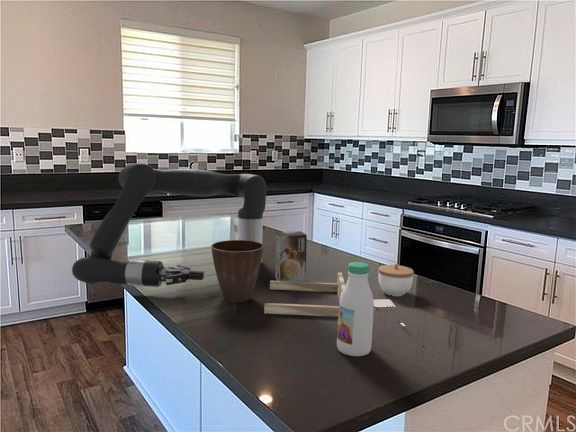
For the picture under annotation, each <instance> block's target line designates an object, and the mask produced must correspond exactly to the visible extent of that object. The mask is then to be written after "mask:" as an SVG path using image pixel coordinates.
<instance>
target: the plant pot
mask: <svg viewBox="0 0 576 432" xmlns="http://www.w3.org/2000/svg"><path fill="white" fill-rule="evenodd" d="M210 248H211V253H212V254H211V255H212V260H213V265H214V271H215V274H216V279H217V281H218V282H217V283H218V284H219V288H220V290H221V294H222V296H223V298H224V300H225V301H227V302H228V303H237V304H238V303H245V302H248V301H249V300H251V298H252V297H251V296H252V295H253V291H254V289H255V286H256V283H257V280H258V276H259V273H260V268H261V264H262V262H261V259H262V258H263V254H264V253H263V252H264V244H263V243H262V244H261V243H259V242H255V241H248V240H238V239H231V240H229V239H228V240H221V241H217V242H213V243H212V244H211V247H210Z"/></svg>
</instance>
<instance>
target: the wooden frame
mask: <svg viewBox="0 0 576 432" xmlns="http://www.w3.org/2000/svg"><path fill="white" fill-rule="evenodd" d="M336 280H337V281H336V282H316V281H315V282H314V281H313V282H312V281H306V282H295V281H277V280H271V279H270V280H269V290H278V291H281V290H282V291H301V292H302V291H303V292H305V291H306V292H321V293H323V292H325V293H337V298H339V299H338V303H339V302H340V296H341V293H342V291H343V289H344V287H345V285H346V283H345V280H344V276H343V273H342V272H337V279H336ZM263 307H264V308H263V309H264V311H263V312H264V313H263V314H267V313H268V314H269V315H270V314H272V315H293V316H294V315H295V316H311V317H313V316H317V317H338V315H339V305H319V304H317V305H316V304H297V303H277V302H276V303H274V302H273V303H272V302H271V303H270V302H264V306H263Z"/></svg>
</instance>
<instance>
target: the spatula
mask: <svg viewBox="0 0 576 432" xmlns="http://www.w3.org/2000/svg"><path fill="white" fill-rule="evenodd" d="M373 300H374V308H375V307H387V306H388V307H390V306H391V307H392V306H393V307H396V306H395V303H393V301H392V300H391V299H388V298H387V299H373ZM399 324H400V325H401V326H402V328H403V329H404V330H405V331H406V333H407V332H408V333H409V334H411V336H413V338H415V339H416V340H418V341H419V342H420V340H421V339H420V338H419V337H418V335H416V333H415V332H414V331H413V330H412V329H411V328H410V327H409V326H408V325H406V324H404V323H403V322H402V323H399ZM408 333H407V334H408ZM409 334H408V335H409ZM411 336H410V337H411ZM413 338H412V339H413ZM419 339H420V340H419Z"/></svg>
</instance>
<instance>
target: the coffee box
mask: <svg viewBox="0 0 576 432" xmlns="http://www.w3.org/2000/svg"><path fill="white" fill-rule="evenodd" d="M307 239H308V238H307V234H306V233H304V232H302V231H275V266H274V267H275V270H274V271H275V272H274V273H275V274H274V275H275V277H274V278H275V279H276V281H295V282H307V281H306V280H307V248H308V247H307V243H308V242H307Z"/></svg>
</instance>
